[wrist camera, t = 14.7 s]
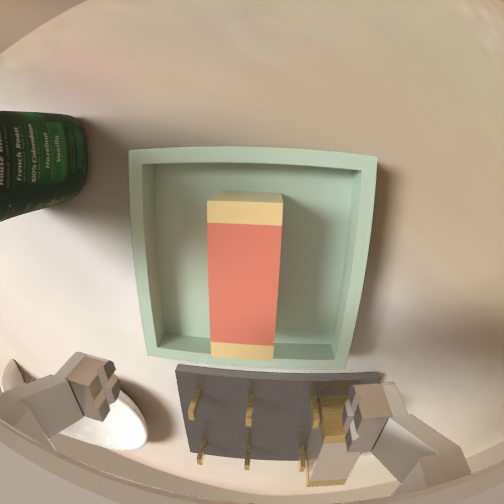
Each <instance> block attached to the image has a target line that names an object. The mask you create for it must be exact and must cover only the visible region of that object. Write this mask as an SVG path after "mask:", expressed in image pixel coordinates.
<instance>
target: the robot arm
mask: <svg viewBox="0 0 504 504" xmlns="http://www.w3.org/2000/svg"><path fill="white" fill-rule="evenodd" d="M115 370H116V369H115V366H114V363H113V362H112V361H110V360H107V359H103V358H99V357H96V356H92V355H88V354H84V353H81V352H76V353H75V354H74V355H73V356H72V357H71V358H70V359H69V360H68V361H67V362H66V363H65V364H64V365H63V366H62V368H61V369H60V370H59V371H58V372H57V373H56V374H55V375H49V376H46V377H43V378H40V379H38V380H35V381H32V382H29V383H27V384H24V385H21V386H18V387H15V388H13V389H10V390H7V391H4V392H3V394H2V395H1V396H0V504H253V503H241V502H231V501H224V500H216V499H209V498H204V497H198V496H192V495H187V494H182V493H177V492H173V491H169V490H164V489H160V488H156V487H153V486H149V485H145V484H142V483H138V482H135V481H132V480H129V479H126V478H122V477H120V476H116V475H114V474H111V473H108V472H105V471H103V470H100V469H97V468H95V467H92V466H90V465H87V464H85V463H83V462H80V461H78V460H75V459H73V458H71V457H69V456H67V455H65V454H63V453H60V452H58V451H56V450H55V448H54V446H53V445H52V443H51V442H50V440H49V438H50V437H52V436H54V435H56V434H57V433H59V432H61V431H62V430H64V429H66V428H67V427H69V426H71V425H72V424H74V423H76V422H77V421H79V420H81V419H82V418H84V416H85V417H88V418H91V419H94V420H97V421H101V422H103V421H104V420H105V418H106V417H107V415H108V413H109V412H110V406H109V405H111V404H113V403H115V402H116V400H117V398H118V397H119V392H120V383H119V379H118V378H117V377H116V375H115V374H114V371H115ZM348 396H349V400H347V401H346V402H345V404H344V407H343V413H342V423H343V428H344V429H345V430H346V431H347V434H346V436H345V441H346V447H347V453H349V452H366V451H372V453H373V454H374V456H375V457H376V458H377V459H378V460H379V461H380V462H381V463H382V464H383V465H384V466H385V467H386V468H387V469H388V470H389V471H390V472H391V473H392V475H393V476H394V477H395V478H396V479H397V480H398V481H399V482H400V483H401V484H400V486H399V487H398V488H397V489H396V490H395V491H394V493H393V494H392V495H391V496H389V497H384V498H378V499H371V500H364V501H356V502H347V503H335V504H504V460H503V461H501V462H499V463H497V464H495V465H492V466H490V467H488V468H485V469H483V470H480V471H478V472H475V473H471V471H470V468H469V466H468V464H467V461H466V459H465V457H464V454H463V452H462V450H461V448H460V446H458V445H457V444H455V443H454V442H452V441H451V440H449V439H448V438H446V437H445V436H443V435H442V434H440V433H439V432H437V431H436V430H434V429H433V428H431V427H430V426H428V425H427V424H426V423H424V422H423V421H421V420H420V419H418V418H417V417H415V416H414V415H413V414H411V415H408V412H407V410H406V408H405V405H404V403H403V400H402V398H401V396H400V393H399V391H398V389H397V386H396V384H395V383H394V382H388V383H380V384H378V383H377V384H359V385H351V386H350V388H349V391H348Z"/></svg>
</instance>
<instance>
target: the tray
mask: <svg viewBox="0 0 504 504" xmlns="http://www.w3.org/2000/svg"><path fill="white" fill-rule="evenodd" d="M376 172H377V156H369V155H361V154H353V153H343V152H333V151H322V150H309V149H294V148H275V147H241V146H206V147H172V148H153V149H139V150H129V199H130V219H131V234H132V246H133V257H134V267H135V276H136V284H137V292H138V300H139V307H140V314H141V320H142V326H143V332H144V338H145V343H146V349H147V354H148V356H154V357H161V358H167V359H174V360H182V361H190V362H198V363H207V364H217V365H228V366H240V367H255V368H274V369H310V370H332V369H345V367H346V363H347V359H348V355H349V351H350V346H351V342H352V338H353V333H354V329H355V324H356V319H357V314H358V309H359V304H360V299H361V294H362V288H363V282H364V276H365V270H366V264H367V257H368V250H369V243H370V235H371V227H372V218H373V208H374V198H375V186H376ZM222 191H248V192H273V193H281V196H282V200H283V216H282V234H281V252H280V268H279V284H278V298H277V312H276V325H275V338H274V350H273V361H268V360H251V359H237V358H225V357H214V356H211V342H210V320H209V293H208V253H207V200H209V199H210V198H212V197H214V196H215V195H217V194H218V193H220V192H222Z"/></svg>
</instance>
